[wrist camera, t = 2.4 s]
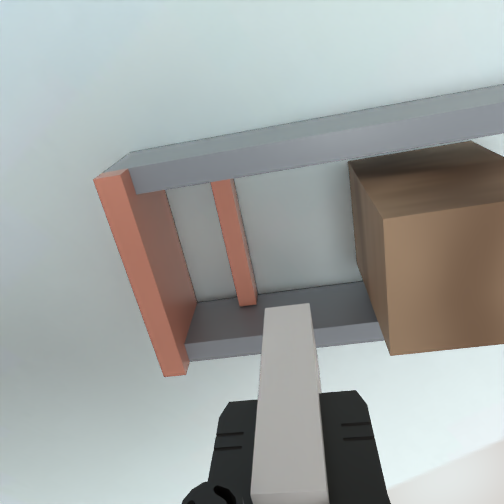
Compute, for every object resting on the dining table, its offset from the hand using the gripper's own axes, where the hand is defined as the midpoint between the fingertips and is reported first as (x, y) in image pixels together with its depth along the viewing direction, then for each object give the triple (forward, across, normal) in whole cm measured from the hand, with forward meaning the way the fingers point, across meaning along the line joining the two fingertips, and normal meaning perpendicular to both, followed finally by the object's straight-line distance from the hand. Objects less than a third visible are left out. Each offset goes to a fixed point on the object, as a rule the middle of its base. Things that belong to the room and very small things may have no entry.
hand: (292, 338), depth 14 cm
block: (+10, +6, 0) cm, 12 cm away
